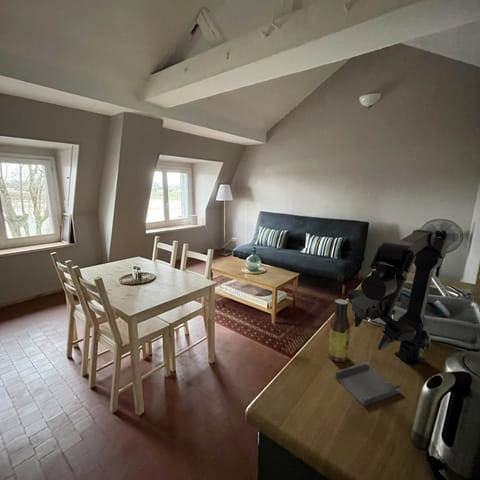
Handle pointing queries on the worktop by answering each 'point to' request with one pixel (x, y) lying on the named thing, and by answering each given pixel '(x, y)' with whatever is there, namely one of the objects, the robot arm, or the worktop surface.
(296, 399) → the worktop surface
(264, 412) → the worktop surface
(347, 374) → the floor track
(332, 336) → the sauce bottle
